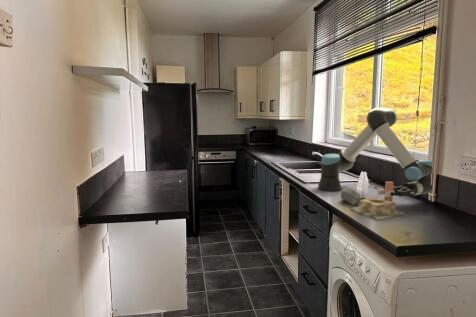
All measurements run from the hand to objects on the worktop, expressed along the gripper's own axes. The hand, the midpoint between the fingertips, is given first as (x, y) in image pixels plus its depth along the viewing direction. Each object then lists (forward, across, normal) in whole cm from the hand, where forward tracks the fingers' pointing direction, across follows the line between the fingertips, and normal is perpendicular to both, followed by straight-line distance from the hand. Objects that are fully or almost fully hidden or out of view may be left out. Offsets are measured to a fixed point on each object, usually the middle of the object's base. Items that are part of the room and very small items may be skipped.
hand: (381, 193), depth 172 cm
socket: (+8, -4, -8) cm, 12 cm away
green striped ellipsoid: (+7, +16, -9) cm, 19 cm away
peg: (-5, 0, -8) cm, 10 cm away
